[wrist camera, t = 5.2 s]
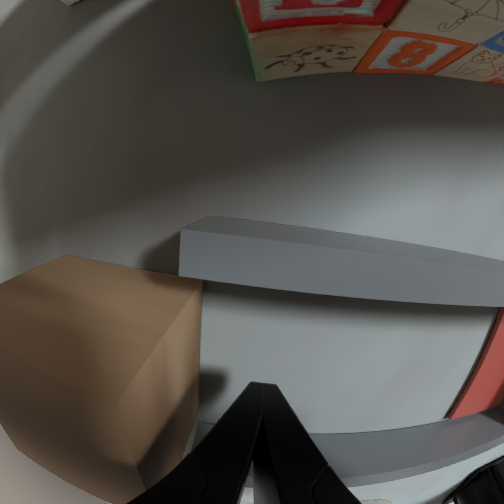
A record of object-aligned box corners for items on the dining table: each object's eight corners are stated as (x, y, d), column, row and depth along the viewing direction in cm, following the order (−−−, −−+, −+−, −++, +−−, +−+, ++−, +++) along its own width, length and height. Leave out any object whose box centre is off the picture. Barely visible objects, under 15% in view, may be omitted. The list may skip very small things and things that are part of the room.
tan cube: (198, 405, 10) (161, 521, 4) (84, 372, 10) (17, 449, 5) (203, 279, 8) (116, 404, 3) (65, 255, 9) (-49, 309, 3)
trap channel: (496, 414, 9) (513, 437, 7) (200, 435, 10) (187, 477, 8) (559, 274, 7) (587, 288, 5) (208, 215, 8) (180, 229, 6)
